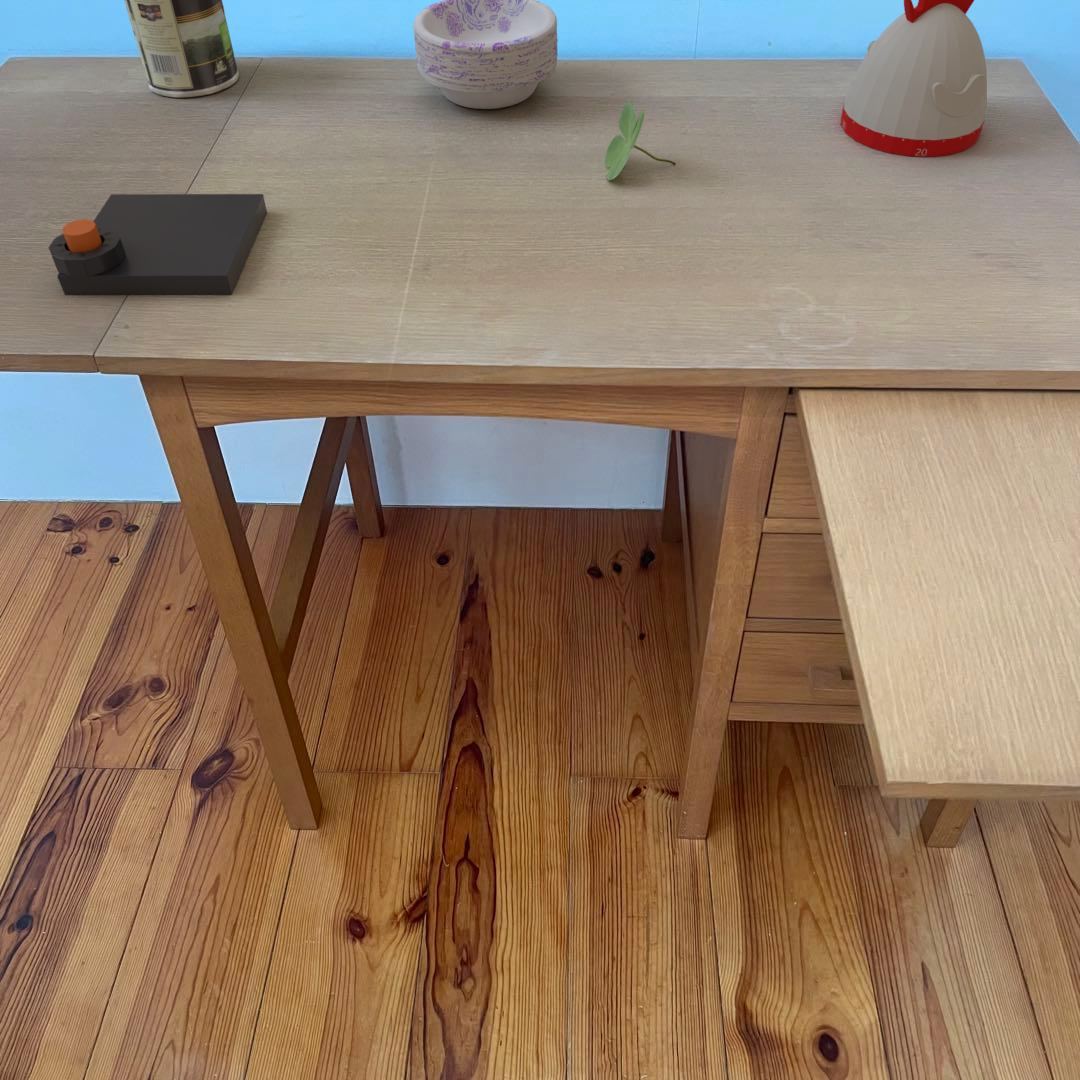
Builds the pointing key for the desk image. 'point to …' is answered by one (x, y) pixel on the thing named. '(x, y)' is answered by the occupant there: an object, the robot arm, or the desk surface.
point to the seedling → (625, 141)
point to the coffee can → (183, 46)
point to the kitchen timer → (920, 84)
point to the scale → (164, 245)
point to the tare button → (81, 236)
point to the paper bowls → (486, 49)
